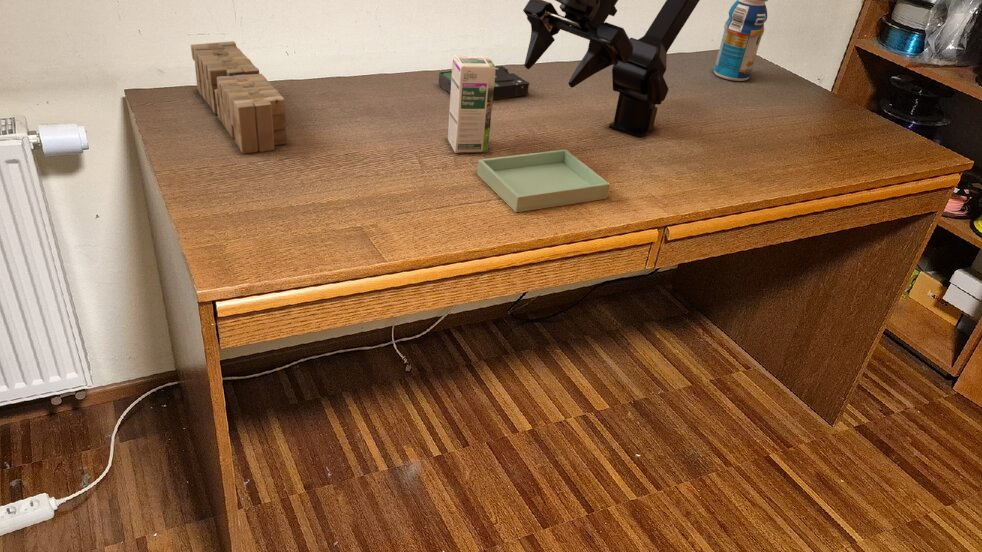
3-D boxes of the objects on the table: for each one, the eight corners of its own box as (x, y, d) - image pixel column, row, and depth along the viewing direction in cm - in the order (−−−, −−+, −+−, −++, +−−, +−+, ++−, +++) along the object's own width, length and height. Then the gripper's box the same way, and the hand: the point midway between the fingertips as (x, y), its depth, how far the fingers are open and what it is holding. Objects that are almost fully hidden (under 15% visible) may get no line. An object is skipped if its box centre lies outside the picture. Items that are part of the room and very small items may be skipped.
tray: (515, 212, 117) (517, 197, 116) (476, 174, 126) (478, 159, 125) (607, 198, 124) (610, 184, 122) (563, 163, 133) (566, 149, 132)
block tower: (290, 153, 128) (239, 84, 147) (288, 102, 123) (235, 37, 142) (240, 159, 124) (194, 87, 143) (236, 107, 119) (189, 40, 138)
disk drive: (499, 79, 164) (437, 85, 157) (501, 65, 162) (438, 71, 155) (528, 96, 157) (464, 104, 150) (530, 82, 156) (465, 89, 148)
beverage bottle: (707, 68, 183) (731, -25, 171) (742, 70, 184) (769, -22, 172) (718, 80, 177) (744, -16, 165) (754, 83, 177) (783, -12, 166)
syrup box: (454, 154, 132) (461, 65, 123) (446, 139, 136) (452, 53, 127) (487, 153, 133) (497, 66, 125) (478, 138, 138) (487, 53, 129)
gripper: (536, -59, 121) (481, 30, 122) (634, -29, 112) (573, 66, 112) (564, -13, 131) (513, 69, 132) (657, 18, 121) (601, 106, 122)
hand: (547, 76), depth 124 cm, fingers open, 9 cm apart
